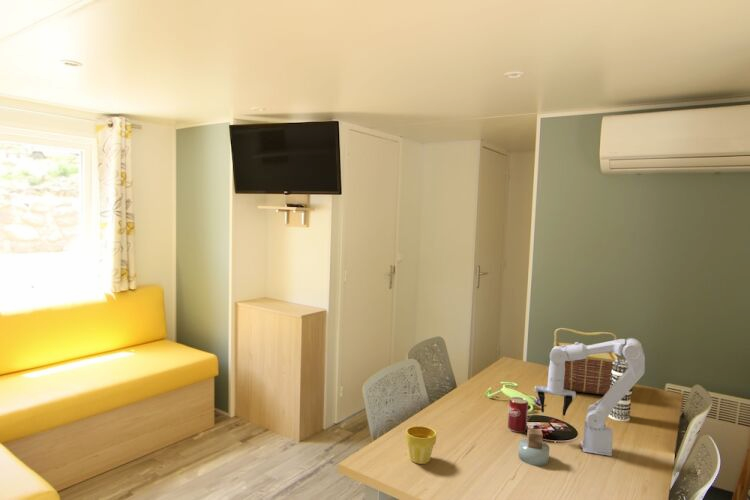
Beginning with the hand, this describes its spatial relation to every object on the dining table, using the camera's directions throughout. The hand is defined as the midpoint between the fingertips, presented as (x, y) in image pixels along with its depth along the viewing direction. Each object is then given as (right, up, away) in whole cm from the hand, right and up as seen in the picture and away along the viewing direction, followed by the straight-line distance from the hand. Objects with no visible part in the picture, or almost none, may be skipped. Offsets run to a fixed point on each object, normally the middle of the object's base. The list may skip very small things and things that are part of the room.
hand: (553, 413), depth 183 cm
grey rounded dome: (-12, -11, -15) cm, 22 cm away
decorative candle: (+38, -11, +25) cm, 46 cm away
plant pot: (-53, -10, -18) cm, 57 cm away
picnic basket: (+37, -8, +60) cm, 71 cm away
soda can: (-11, -10, +9) cm, 17 cm away
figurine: (-4, -8, +40) cm, 41 cm away
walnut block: (-12, -6, -15) cm, 20 cm away
